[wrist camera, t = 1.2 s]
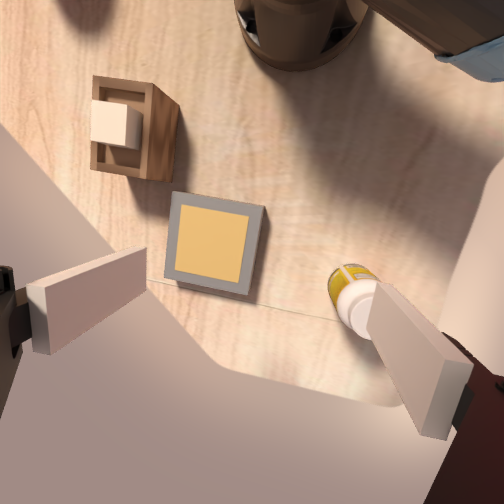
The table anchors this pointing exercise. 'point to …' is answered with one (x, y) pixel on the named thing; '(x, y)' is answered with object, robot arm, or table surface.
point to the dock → (212, 241)
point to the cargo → (116, 125)
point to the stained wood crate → (153, 131)
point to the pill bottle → (353, 295)
